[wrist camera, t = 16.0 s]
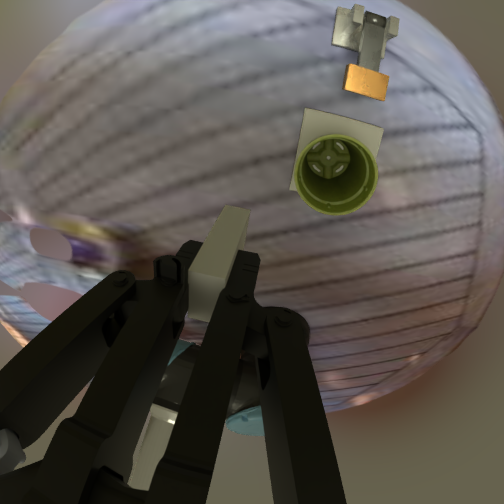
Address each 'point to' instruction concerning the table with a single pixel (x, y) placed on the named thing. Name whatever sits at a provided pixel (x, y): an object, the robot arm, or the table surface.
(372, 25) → the press lever
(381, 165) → the table surface
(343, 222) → the table surface
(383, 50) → the lever stand
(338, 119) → the plate
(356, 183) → the plant pot
